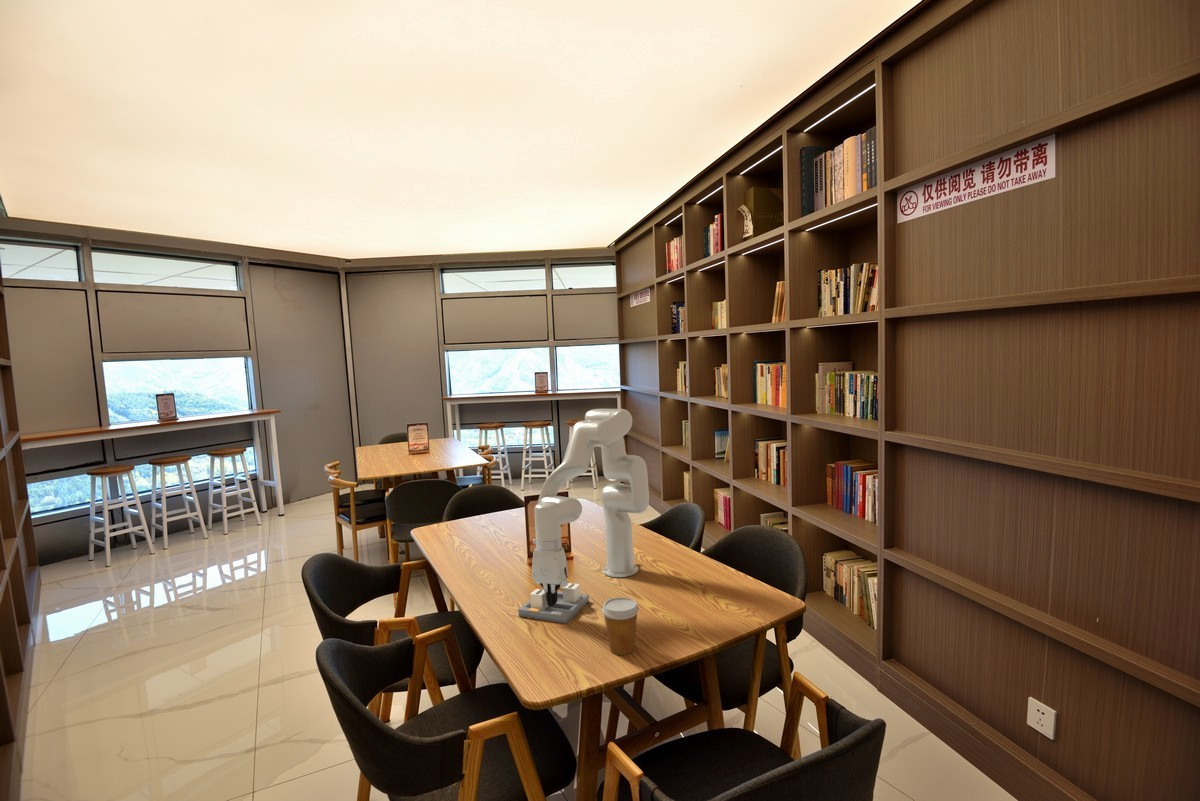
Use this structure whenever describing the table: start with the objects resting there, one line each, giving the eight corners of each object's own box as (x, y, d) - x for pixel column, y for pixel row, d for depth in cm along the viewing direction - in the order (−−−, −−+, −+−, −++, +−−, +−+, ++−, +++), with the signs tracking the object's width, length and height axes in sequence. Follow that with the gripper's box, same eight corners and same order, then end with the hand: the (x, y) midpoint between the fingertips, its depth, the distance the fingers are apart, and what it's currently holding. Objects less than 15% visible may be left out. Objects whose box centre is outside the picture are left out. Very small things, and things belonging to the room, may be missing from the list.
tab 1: (537, 604, 170) (536, 587, 169) (548, 606, 168) (547, 589, 168) (530, 610, 166) (529, 592, 166) (542, 611, 164) (541, 594, 164)
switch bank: (544, 595, 180) (543, 588, 179) (589, 601, 173) (588, 593, 173) (518, 616, 165) (518, 608, 165) (566, 623, 159) (566, 615, 159)
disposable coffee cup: (646, 644, 144) (644, 600, 143) (630, 662, 136) (627, 614, 135) (615, 637, 149) (613, 594, 148) (597, 653, 141) (594, 607, 140)
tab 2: (569, 598, 173) (568, 581, 173) (580, 599, 172) (579, 583, 171) (563, 603, 170) (562, 586, 169) (575, 605, 168) (574, 588, 168)
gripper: (520, 546, 164) (524, 606, 165) (565, 549, 158) (569, 612, 159) (533, 538, 171) (536, 596, 172) (576, 542, 165) (579, 601, 166)
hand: (552, 604), depth 165 cm, fingers closed
